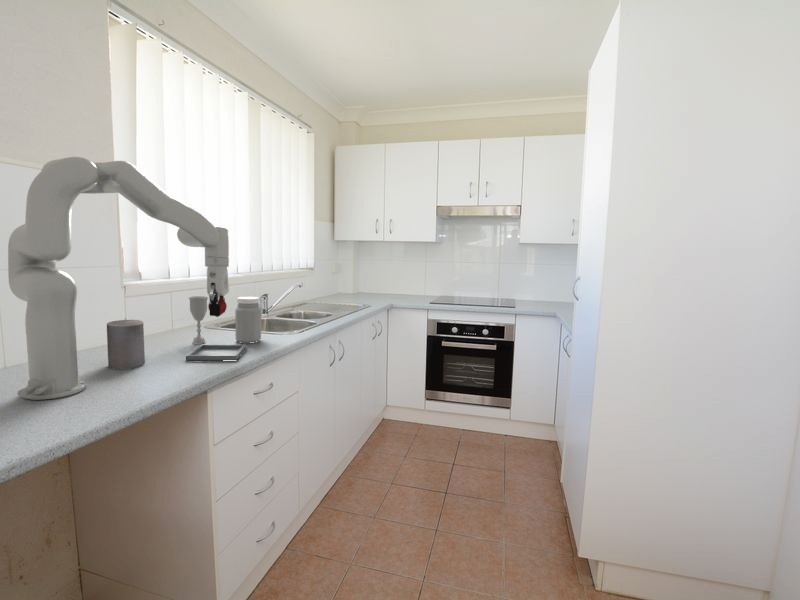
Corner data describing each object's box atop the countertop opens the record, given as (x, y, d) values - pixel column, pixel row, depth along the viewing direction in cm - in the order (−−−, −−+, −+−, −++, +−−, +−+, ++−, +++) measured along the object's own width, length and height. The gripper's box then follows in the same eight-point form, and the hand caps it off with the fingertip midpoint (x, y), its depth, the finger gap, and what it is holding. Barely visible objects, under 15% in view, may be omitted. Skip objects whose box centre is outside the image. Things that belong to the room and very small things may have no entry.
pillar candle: (111, 362, 132) (109, 316, 130) (146, 359, 136) (145, 315, 134) (105, 371, 123) (102, 322, 121) (143, 368, 128) (141, 320, 126)
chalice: (184, 343, 160) (183, 297, 158) (198, 339, 166) (197, 295, 164) (200, 345, 158) (199, 299, 155) (213, 341, 164) (212, 297, 162)
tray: (236, 361, 139) (236, 355, 139) (185, 361, 136) (185, 355, 136) (246, 349, 154) (246, 344, 154) (201, 349, 152) (201, 344, 152)
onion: (229, 316, 146) (229, 293, 145) (221, 318, 140) (221, 295, 139) (214, 315, 147) (213, 292, 146) (205, 317, 141) (204, 294, 140)
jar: (261, 343, 165) (261, 299, 163) (235, 344, 162) (235, 299, 159) (260, 338, 174) (260, 296, 172) (235, 339, 170) (235, 296, 168)
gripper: (221, 263, 133) (222, 318, 136) (234, 261, 150) (234, 310, 153) (197, 262, 132) (198, 318, 134) (212, 261, 149) (213, 310, 151)
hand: (217, 313), depth 143 cm, fingers closed on onion, 5 cm apart
